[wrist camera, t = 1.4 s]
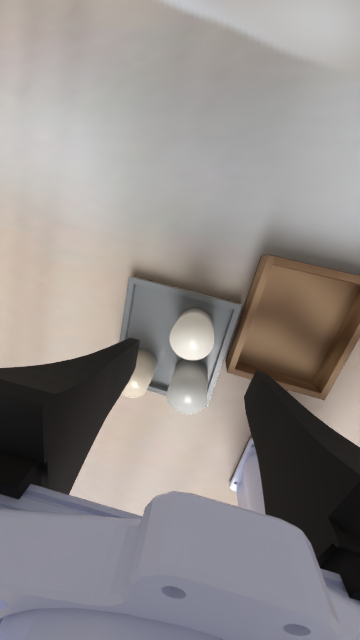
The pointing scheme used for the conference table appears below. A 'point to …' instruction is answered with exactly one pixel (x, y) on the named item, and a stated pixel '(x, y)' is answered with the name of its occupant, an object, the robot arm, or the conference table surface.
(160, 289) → the slate tray
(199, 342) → the white stone
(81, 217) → the conference table surface
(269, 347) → the walnut tray
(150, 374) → the beige stone
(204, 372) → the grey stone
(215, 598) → the robot arm
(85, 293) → the conference table surface
